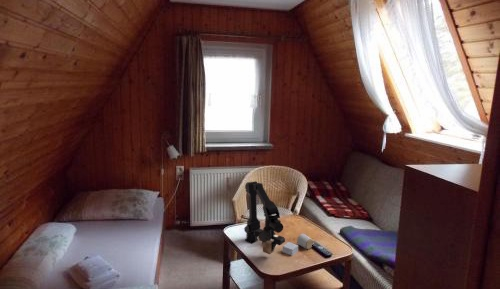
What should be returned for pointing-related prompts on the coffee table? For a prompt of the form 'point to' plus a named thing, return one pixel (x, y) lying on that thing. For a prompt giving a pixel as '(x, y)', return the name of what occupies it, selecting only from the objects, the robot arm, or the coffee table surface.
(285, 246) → the light gray block
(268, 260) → the coffee table surface
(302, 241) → the ceramic mug
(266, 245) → the walnut block
